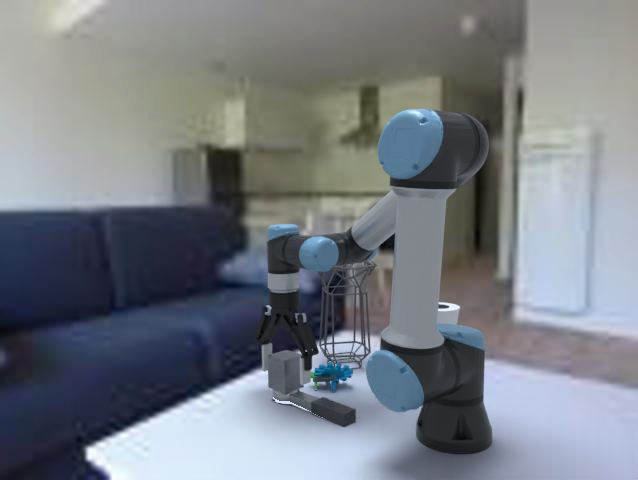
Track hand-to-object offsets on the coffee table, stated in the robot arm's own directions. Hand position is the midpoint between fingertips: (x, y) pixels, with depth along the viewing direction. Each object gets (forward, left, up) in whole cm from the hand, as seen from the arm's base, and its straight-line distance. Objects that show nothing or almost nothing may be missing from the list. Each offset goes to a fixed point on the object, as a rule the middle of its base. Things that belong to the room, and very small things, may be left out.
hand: (285, 376), depth 137 cm
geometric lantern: (+6, -28, -6) cm, 29 cm away
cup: (-16, -42, -6) cm, 45 cm away
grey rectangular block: (0, 0, -3) cm, 3 cm away
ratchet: (-9, 0, -6) cm, 10 cm away
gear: (-3, -13, -6) cm, 15 cm away
